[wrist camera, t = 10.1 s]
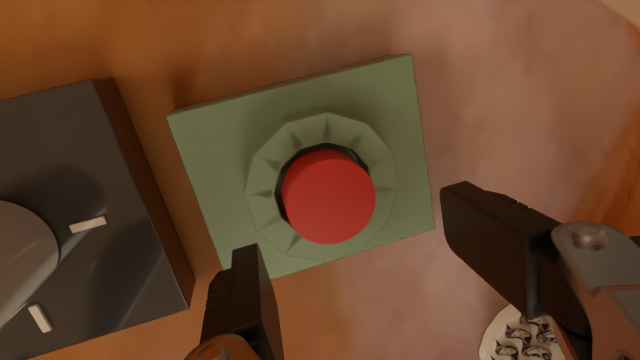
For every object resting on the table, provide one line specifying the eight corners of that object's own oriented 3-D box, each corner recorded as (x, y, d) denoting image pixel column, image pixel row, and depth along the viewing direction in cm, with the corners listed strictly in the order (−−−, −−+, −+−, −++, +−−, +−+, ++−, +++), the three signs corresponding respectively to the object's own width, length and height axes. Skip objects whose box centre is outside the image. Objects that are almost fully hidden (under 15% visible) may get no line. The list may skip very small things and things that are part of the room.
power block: (232, 269, 20) (229, 316, 16) (174, 109, 17) (154, 122, 13) (417, 213, 21) (454, 244, 18) (393, 54, 18) (432, 51, 15)
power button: (293, 236, 16) (298, 256, 15) (271, 161, 15) (275, 173, 13) (369, 213, 17) (382, 230, 15) (354, 138, 16) (367, 147, 14)
